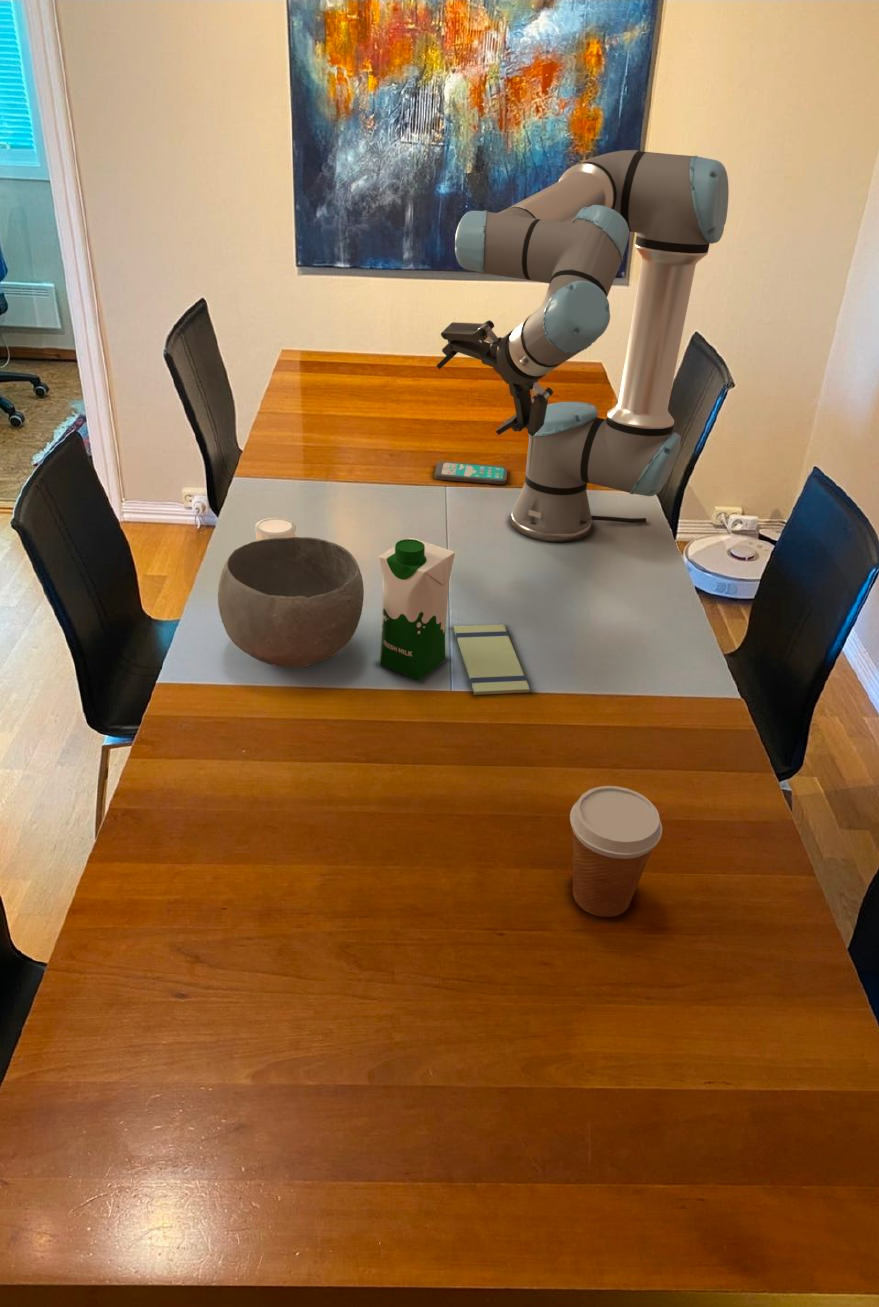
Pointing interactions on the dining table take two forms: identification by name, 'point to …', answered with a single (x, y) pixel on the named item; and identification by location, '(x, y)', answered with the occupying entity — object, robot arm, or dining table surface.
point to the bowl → (290, 599)
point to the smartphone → (471, 472)
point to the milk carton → (414, 606)
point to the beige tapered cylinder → (274, 528)
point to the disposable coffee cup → (611, 847)
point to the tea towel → (490, 660)
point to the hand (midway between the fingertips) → (473, 395)
